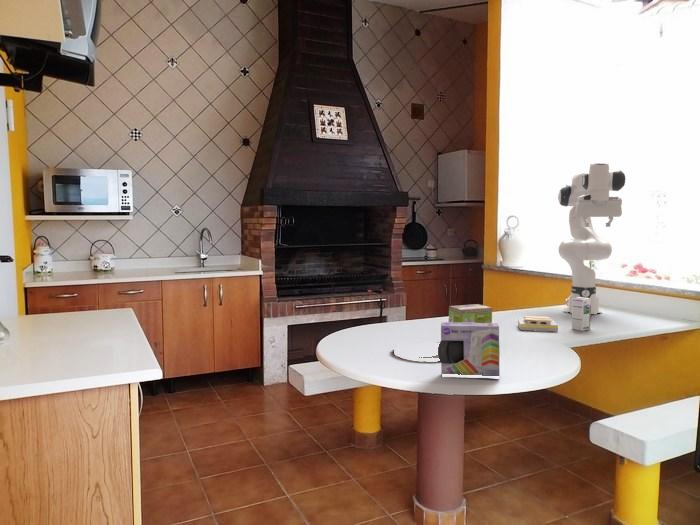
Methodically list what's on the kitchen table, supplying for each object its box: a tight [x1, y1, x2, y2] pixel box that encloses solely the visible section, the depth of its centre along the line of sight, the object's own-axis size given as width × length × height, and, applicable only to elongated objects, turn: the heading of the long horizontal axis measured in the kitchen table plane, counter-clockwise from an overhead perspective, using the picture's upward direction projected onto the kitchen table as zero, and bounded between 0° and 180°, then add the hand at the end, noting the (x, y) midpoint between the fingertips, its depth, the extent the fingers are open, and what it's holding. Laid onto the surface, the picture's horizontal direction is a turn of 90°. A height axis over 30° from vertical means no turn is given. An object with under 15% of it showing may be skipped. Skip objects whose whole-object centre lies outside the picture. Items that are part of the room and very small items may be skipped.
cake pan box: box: [438, 321, 501, 377], centre depth 170 cm, size 19×5×18 cm, turn 78°
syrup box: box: [571, 297, 592, 332], centre depth 241 cm, size 6×6×14 cm
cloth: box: [523, 315, 553, 324], centre depth 243 cm, size 9×11×2 cm
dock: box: [517, 318, 559, 333], centre depth 243 cm, size 12×16×3 cm
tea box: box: [448, 303, 493, 323], centre depth 219 cm, size 15×10×15 cm, turn 114°
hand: (597, 226), depth 247 cm, fingers open, 8 cm apart
